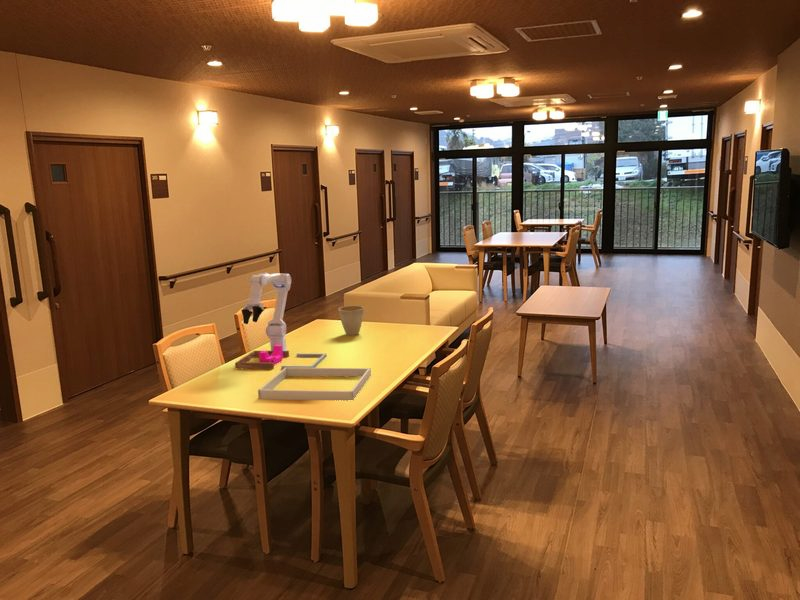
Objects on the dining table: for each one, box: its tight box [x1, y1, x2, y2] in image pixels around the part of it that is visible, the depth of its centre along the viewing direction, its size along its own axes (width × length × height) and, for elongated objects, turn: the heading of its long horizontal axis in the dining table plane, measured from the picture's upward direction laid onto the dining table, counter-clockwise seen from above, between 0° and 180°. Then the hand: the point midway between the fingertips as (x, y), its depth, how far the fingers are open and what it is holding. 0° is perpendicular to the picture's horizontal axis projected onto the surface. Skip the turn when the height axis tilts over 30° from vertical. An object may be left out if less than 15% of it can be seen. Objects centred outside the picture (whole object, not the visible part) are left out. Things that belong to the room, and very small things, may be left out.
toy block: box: [258, 345, 284, 366], centre depth 330 cm, size 15×6×8 cm, turn 156°
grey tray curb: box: [257, 367, 372, 402], centre depth 287 cm, size 33×42×4 cm
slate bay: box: [280, 352, 328, 370], centre depth 327 cm, size 23×16×2 cm
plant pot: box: [338, 305, 365, 336], centre depth 381 cm, size 15×15×16 cm
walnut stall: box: [234, 350, 290, 370], centre depth 331 cm, size 23×20×3 cm
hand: (250, 322), depth 318 cm, fingers open, 7 cm apart
